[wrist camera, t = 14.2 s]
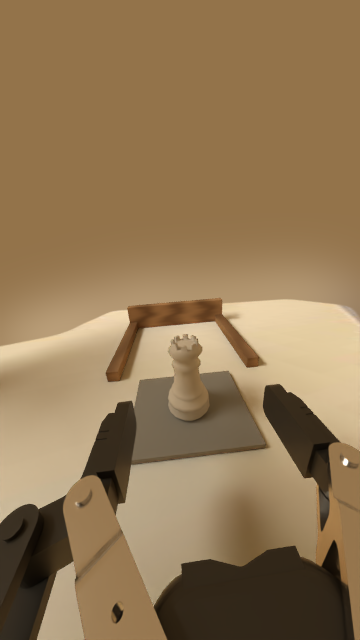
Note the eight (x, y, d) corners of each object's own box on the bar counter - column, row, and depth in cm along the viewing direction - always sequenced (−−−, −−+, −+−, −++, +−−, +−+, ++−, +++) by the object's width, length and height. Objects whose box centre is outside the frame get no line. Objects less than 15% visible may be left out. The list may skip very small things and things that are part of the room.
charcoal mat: (124, 465, 15) (123, 461, 15) (140, 383, 24) (139, 380, 24) (265, 447, 16) (265, 443, 15) (228, 373, 25) (228, 370, 25)
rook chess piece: (161, 400, 21) (153, 338, 18) (194, 385, 23) (191, 326, 20) (181, 432, 17) (174, 359, 14) (218, 410, 19) (219, 342, 16)
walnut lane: (108, 381, 25) (99, 350, 23) (132, 326, 43) (128, 306, 42) (257, 366, 26) (260, 334, 24) (219, 318, 44) (220, 298, 42)
